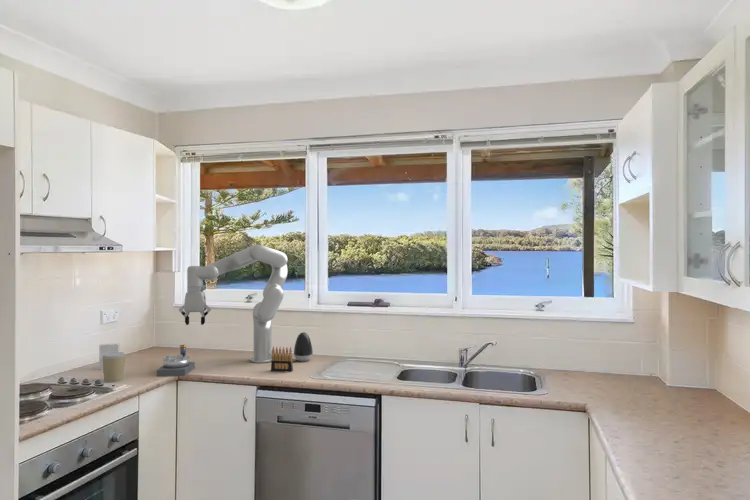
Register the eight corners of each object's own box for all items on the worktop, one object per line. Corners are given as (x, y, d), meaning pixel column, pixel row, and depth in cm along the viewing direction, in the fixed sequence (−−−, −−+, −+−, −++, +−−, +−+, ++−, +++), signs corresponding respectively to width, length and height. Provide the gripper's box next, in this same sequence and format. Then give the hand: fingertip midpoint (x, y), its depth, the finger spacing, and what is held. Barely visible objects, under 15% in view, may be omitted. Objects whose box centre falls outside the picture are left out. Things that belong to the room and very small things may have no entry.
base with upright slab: (120, 365, 255) (120, 342, 255) (117, 369, 246) (117, 345, 246) (101, 366, 252) (101, 343, 252) (97, 370, 243) (97, 346, 243)
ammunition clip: (270, 371, 243) (270, 346, 243) (272, 370, 245) (272, 346, 245) (291, 371, 241) (291, 347, 241) (292, 370, 243) (292, 346, 243)
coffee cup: (129, 378, 228) (129, 352, 228) (113, 383, 219) (113, 356, 219) (114, 376, 231) (114, 351, 231) (97, 381, 222) (97, 355, 222)
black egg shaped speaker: (313, 358, 272) (314, 330, 272) (311, 362, 261) (311, 334, 261) (295, 358, 272) (295, 330, 272) (292, 362, 262) (292, 333, 262)
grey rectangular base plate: (194, 367, 249) (194, 361, 249) (184, 375, 233) (184, 368, 233) (168, 368, 248) (168, 361, 248) (156, 376, 232) (156, 369, 232)
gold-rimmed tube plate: (185, 367, 235) (185, 351, 235) (159, 368, 234) (159, 352, 234) (195, 359, 253) (195, 344, 253) (171, 360, 252) (171, 344, 252)
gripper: (214, 289, 256) (214, 323, 256) (180, 289, 255) (180, 323, 255) (210, 290, 249) (210, 325, 249) (175, 290, 248) (175, 325, 247)
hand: (195, 324), depth 252 cm, fingers open, 6 cm apart
